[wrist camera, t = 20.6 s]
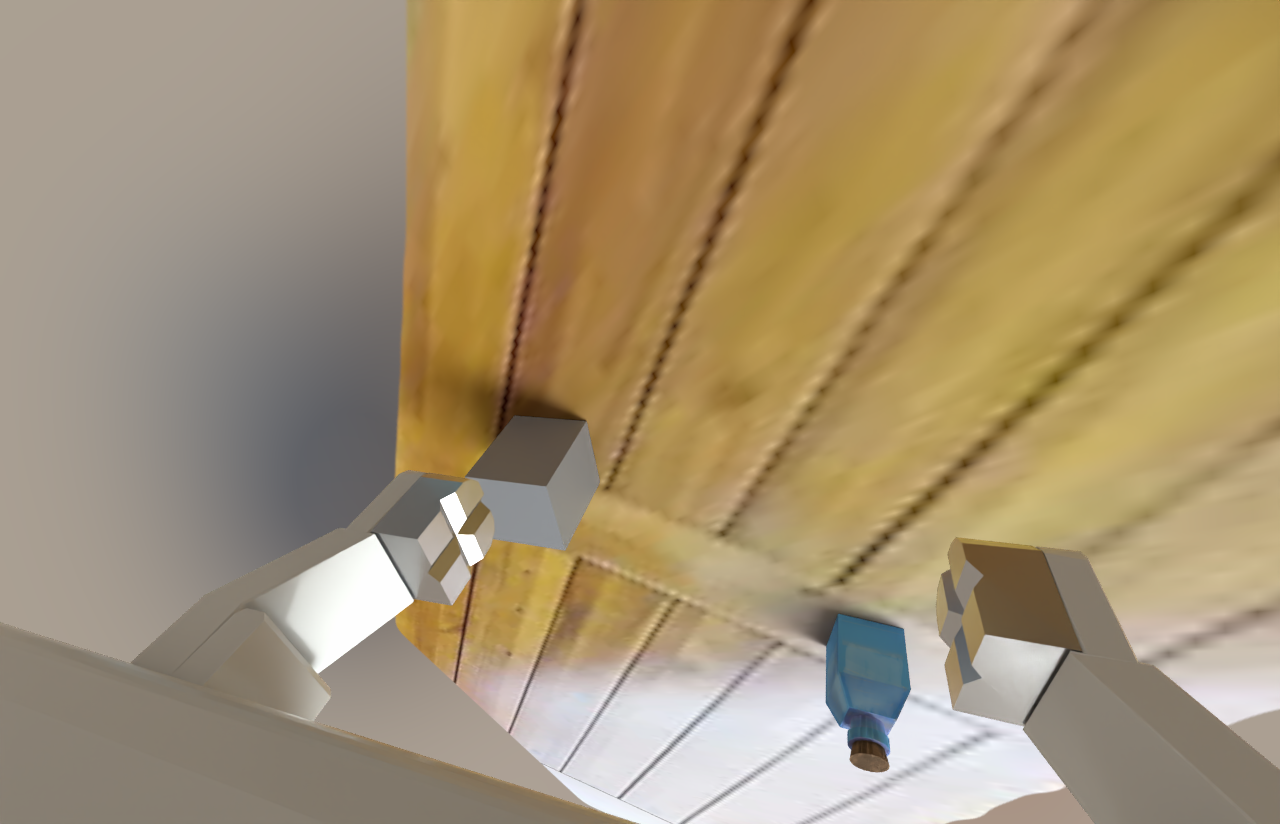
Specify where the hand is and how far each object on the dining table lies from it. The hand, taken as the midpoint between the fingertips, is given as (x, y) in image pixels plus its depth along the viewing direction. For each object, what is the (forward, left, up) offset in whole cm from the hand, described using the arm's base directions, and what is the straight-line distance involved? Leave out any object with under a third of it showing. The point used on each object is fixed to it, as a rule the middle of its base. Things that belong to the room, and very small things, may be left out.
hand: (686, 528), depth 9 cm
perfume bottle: (-9, +46, -29) cm, 55 cm away
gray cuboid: (+21, +24, -29) cm, 43 cm away
